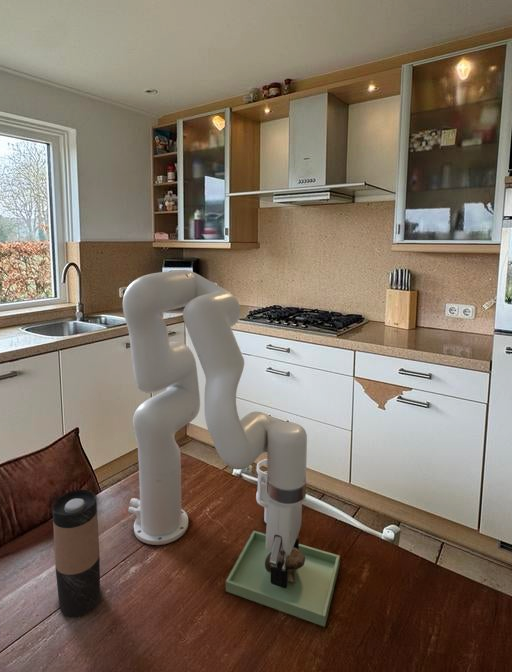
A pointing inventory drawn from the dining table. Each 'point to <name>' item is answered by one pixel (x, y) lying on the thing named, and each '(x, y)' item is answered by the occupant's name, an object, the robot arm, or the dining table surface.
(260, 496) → the white open cylindrical frame
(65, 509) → the travel mug
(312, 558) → the tray
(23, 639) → the dining table surface
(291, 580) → the mushroom
